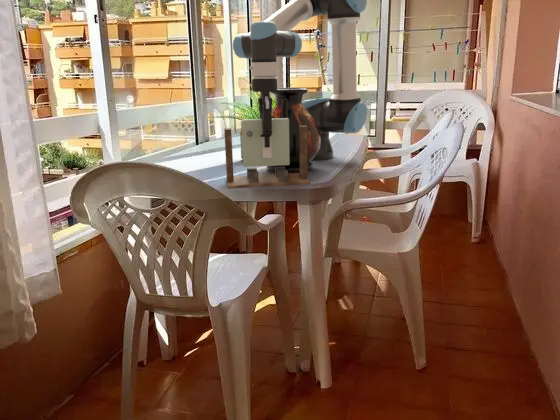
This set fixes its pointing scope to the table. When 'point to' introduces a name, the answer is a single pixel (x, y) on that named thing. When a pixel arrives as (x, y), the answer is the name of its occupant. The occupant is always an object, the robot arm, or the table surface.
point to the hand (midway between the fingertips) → (266, 156)
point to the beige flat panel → (254, 142)
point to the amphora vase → (296, 126)
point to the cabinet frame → (280, 173)
